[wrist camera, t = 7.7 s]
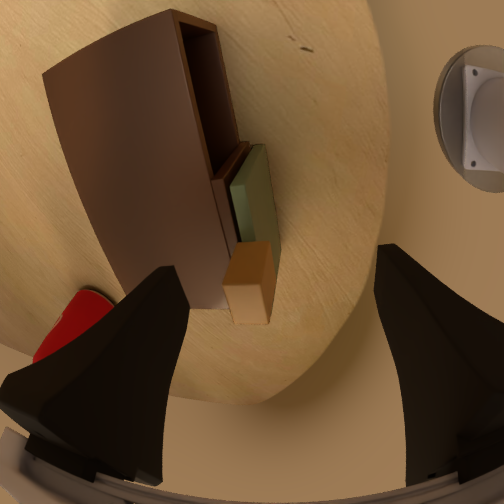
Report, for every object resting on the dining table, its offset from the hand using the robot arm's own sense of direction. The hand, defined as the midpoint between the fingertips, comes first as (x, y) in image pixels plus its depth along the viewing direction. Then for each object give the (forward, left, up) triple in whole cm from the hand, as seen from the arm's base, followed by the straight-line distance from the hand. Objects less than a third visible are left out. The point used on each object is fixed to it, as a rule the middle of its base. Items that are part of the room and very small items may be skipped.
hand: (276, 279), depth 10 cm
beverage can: (+23, +13, -11) cm, 28 cm away
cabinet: (+7, -2, -11) cm, 13 cm away
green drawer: (+2, +2, -10) cm, 10 cm away
